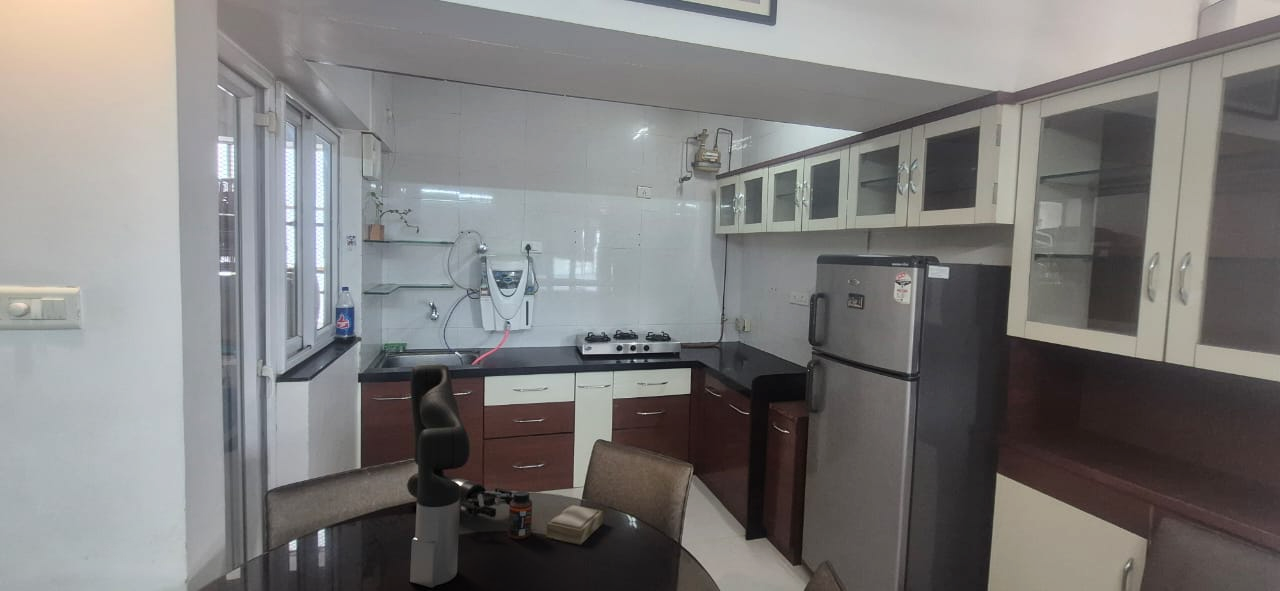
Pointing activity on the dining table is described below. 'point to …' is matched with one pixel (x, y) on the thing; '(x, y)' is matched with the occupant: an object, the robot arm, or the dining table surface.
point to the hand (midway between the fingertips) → (506, 507)
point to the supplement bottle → (520, 515)
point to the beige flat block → (574, 524)
